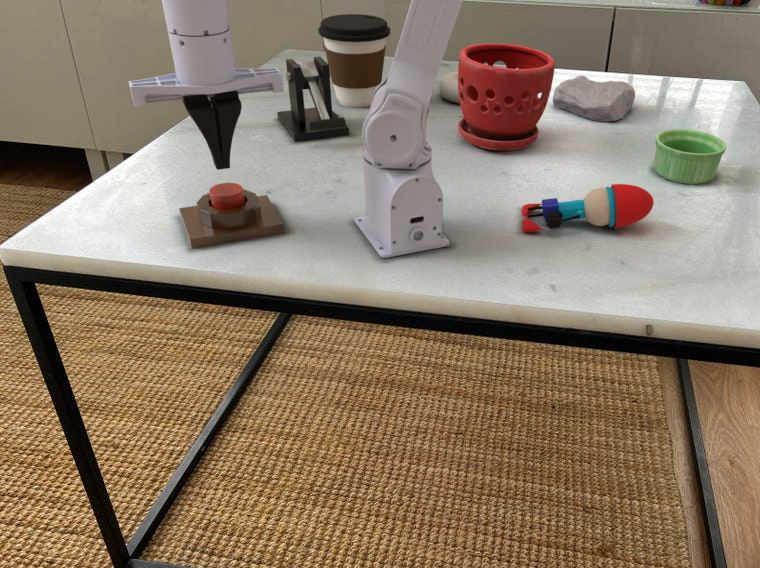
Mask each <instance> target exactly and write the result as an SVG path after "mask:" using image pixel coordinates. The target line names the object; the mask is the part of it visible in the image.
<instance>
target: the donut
mask: <svg viewBox="0 0 760 568" xmlns="http://www.w3.org/2000/svg"><path fill="white" fill-rule="evenodd" d="M438 90H439V93H440V95H442V97H443V98H444V99H446V100H447V101H449V102H451V103H454V104H459V105H460V101H459V93H458V70H457V71H453V72H449V73H447V74H446V75H444V76H443V77H441V79H440V81H439V86H438Z"/></svg>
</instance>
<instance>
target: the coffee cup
mask: <svg viewBox="0 0 760 568" xmlns="http://www.w3.org/2000/svg"><path fill="white" fill-rule="evenodd" d="M317 31H318V32H317V34H319V36H320V37H322V39H323V43H324V46H323V48H324V53H325V57H326V63H327V64H329V71H330V81H331V83H332V84H333V88H334V89H333V90H334V93H335V98H336V100H337V101H338V102H339V104H340V105H342V106H344V107H349V108H367V107H370V103H371V98H372V95H373V93H374V91H375V89H376V88H377V87H378V86H379V85H380V84H381V83H382V82H383V81H382V80H383V72H384V64H385V58H386V57H385V55H386V47H387V45H386V39H387V38H388V37H389V36H390V34H391V28H390V26H388V21H387V20H385V18H383V17H379V16H376V15H370V14H360V13H347V14H336V15H330V16H328V17H324V18H323V19H322V20H321V22H320V25H319V27H318V28H317Z"/></svg>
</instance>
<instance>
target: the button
mask: <svg viewBox="0 0 760 568" xmlns="http://www.w3.org/2000/svg"><path fill="white" fill-rule="evenodd" d="M243 189H244V187H243V186H242V185H241V184H238V183H235V182H222V183H218V184H214V185H213V186H211V187H210V188H209V190H208V193H209V194H210V199H211V205H212V207H213V208H215V209H223V210H228V209H234V208H238V207H241V206H243V205H245V197H244V191H243Z"/></svg>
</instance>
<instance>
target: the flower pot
mask: <svg viewBox="0 0 760 568" xmlns="http://www.w3.org/2000/svg"><path fill="white" fill-rule="evenodd" d="M497 62H502V63H504V65H505V67H503V66H502V67H501V66H494V64H495V63H497ZM486 63H487V64H486ZM555 69H556V61H555V59H554V58H553V57H552V56H551V55H549V53H546V52H544V51H542V50H539V49H536V48H533V47H528V46H524V45H518V44H512V43H500V42H499V43H498V42H489V43H488V42H487V43H486V42H485V43H476V44H471V45H468V46H467V45H466V47H464V48H462V49H461V50H460V52H459V57H458V66H457V71H458V93H459V101H460V104H459V105H460V106H459V107H460V109H461V113H462V116H463V118H461V119H460V120H459V122H458V124H457V129H458V132H459V134H460V135H461V137H462V138H463V140H465V141H466V142H468V143H469V144H471V145H473V146H476V147H477V148H481V149H486V150H488V151H489V150H490V151H499V152H502V151H503V152H504V151H515V150H516V151H517V150H521V149H523V148H527V147H528V146H530V145H532V144H533V143H534V142H535V141H536V140H537V138H538V136H539V133H540V130H539V127H538V126H537V125H538V123H539V121H540V120H541V118H542V116H543V115H544V112H545V110H546V107H547V104H548V103H549V99H550V94H551V91H552V86H553V80H554V77H555V75H554V74H555ZM539 94H541V95H540V96H539Z"/></svg>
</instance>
